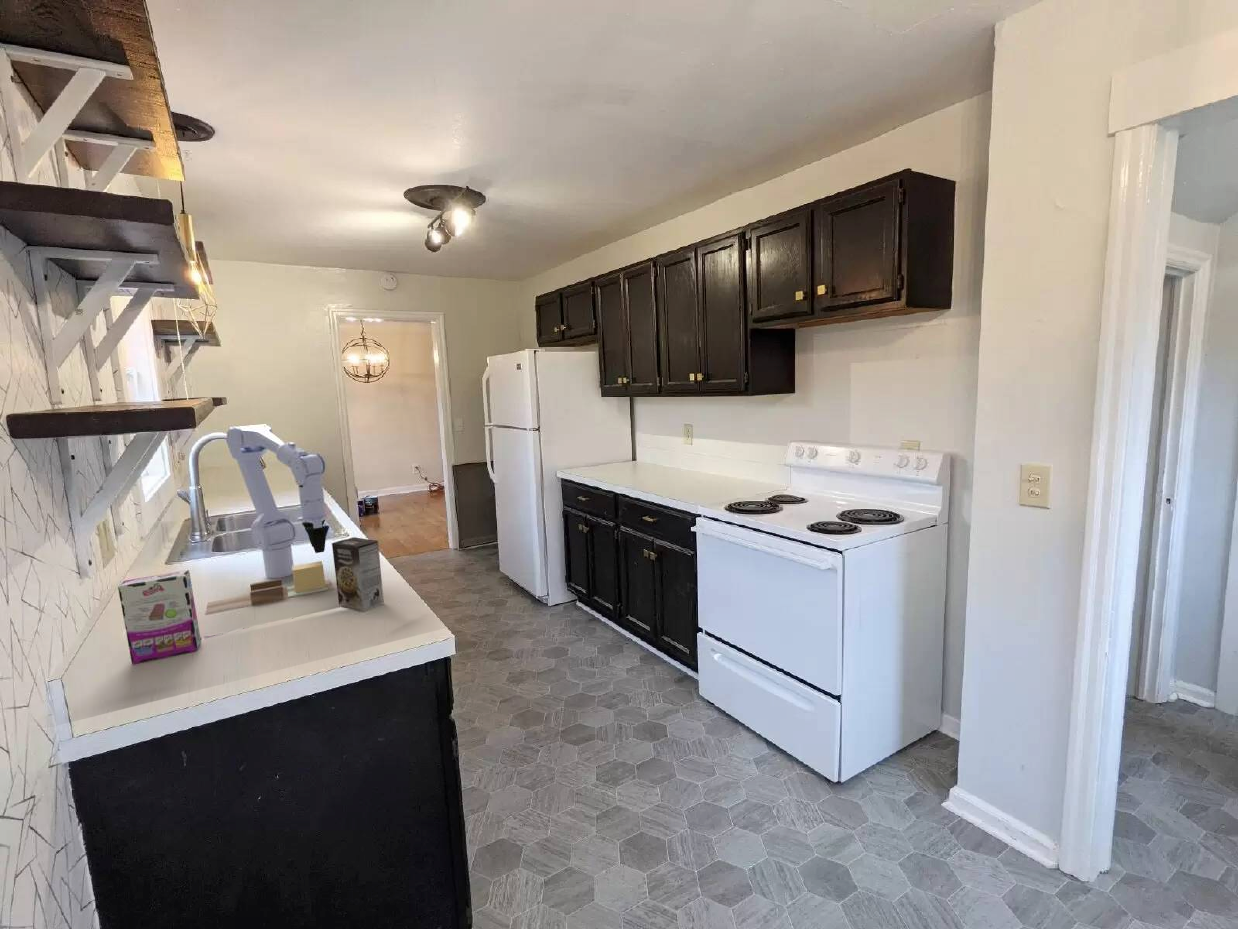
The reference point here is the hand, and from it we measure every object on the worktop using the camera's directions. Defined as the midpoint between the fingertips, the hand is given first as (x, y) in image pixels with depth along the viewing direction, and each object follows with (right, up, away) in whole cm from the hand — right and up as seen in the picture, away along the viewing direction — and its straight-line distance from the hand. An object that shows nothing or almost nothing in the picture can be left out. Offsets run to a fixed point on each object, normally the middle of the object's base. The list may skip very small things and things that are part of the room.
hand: (318, 549), depth 163 cm
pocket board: (-7, -12, -9) cm, 16 cm away
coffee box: (+19, -12, -16) cm, 27 cm away
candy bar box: (-12, -16, -39) cm, 44 cm away
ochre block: (0, -10, -4) cm, 11 cm away
